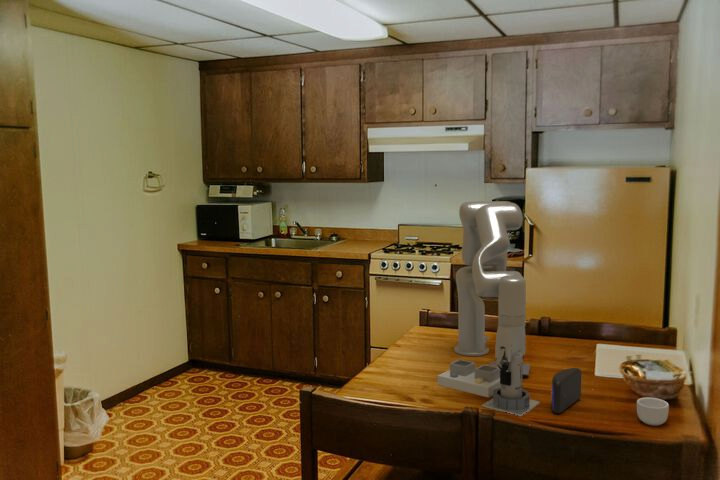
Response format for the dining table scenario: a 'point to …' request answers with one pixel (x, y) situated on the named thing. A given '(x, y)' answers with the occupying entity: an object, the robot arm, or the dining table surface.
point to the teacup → (652, 410)
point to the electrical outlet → (524, 372)
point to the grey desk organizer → (470, 378)
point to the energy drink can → (514, 378)
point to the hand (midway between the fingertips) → (511, 380)
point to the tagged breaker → (487, 369)
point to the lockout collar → (511, 403)
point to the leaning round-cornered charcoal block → (565, 389)
